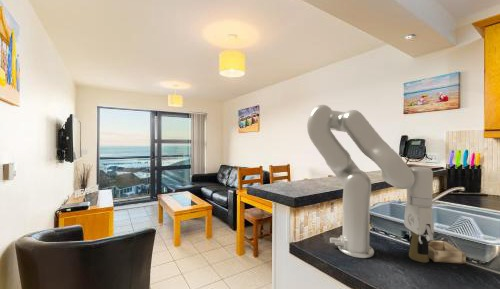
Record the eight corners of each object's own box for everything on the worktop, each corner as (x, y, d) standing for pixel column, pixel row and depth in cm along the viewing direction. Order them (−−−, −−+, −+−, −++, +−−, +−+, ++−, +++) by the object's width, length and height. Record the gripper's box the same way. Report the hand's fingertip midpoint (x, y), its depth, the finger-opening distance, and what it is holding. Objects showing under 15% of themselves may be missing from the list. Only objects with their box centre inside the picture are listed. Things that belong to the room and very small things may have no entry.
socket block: (434, 261, 80) (434, 251, 80) (417, 248, 90) (417, 239, 90) (465, 263, 78) (465, 253, 78) (444, 249, 88) (444, 241, 88)
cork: (432, 263, 79) (433, 232, 78) (413, 261, 80) (413, 230, 80) (423, 254, 85) (423, 225, 84) (405, 253, 86) (405, 224, 86)
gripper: (396, 195, 91) (395, 240, 91) (422, 207, 74) (421, 262, 74) (416, 195, 90) (416, 241, 90) (447, 208, 73) (446, 264, 73)
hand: (418, 250), depth 82 cm, fingers closed on cork, 4 cm apart
